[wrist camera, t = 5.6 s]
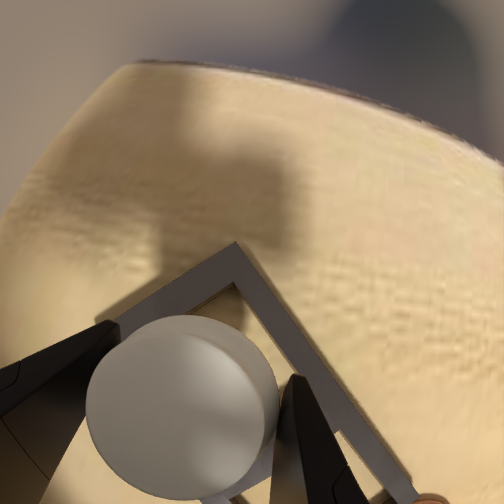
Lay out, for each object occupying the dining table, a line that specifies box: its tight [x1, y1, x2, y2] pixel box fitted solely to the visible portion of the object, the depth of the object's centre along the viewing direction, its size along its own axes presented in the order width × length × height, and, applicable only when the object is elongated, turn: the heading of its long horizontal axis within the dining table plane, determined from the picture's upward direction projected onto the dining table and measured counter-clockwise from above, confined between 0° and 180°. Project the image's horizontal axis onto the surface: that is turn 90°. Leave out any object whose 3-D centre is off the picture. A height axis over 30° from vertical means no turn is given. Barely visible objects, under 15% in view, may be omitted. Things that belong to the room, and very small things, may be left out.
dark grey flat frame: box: [113, 241, 420, 504], centre depth 16 cm, size 11×22×1 cm, turn 35°
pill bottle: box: [86, 315, 280, 501], centre depth 10 cm, size 5×5×10 cm
